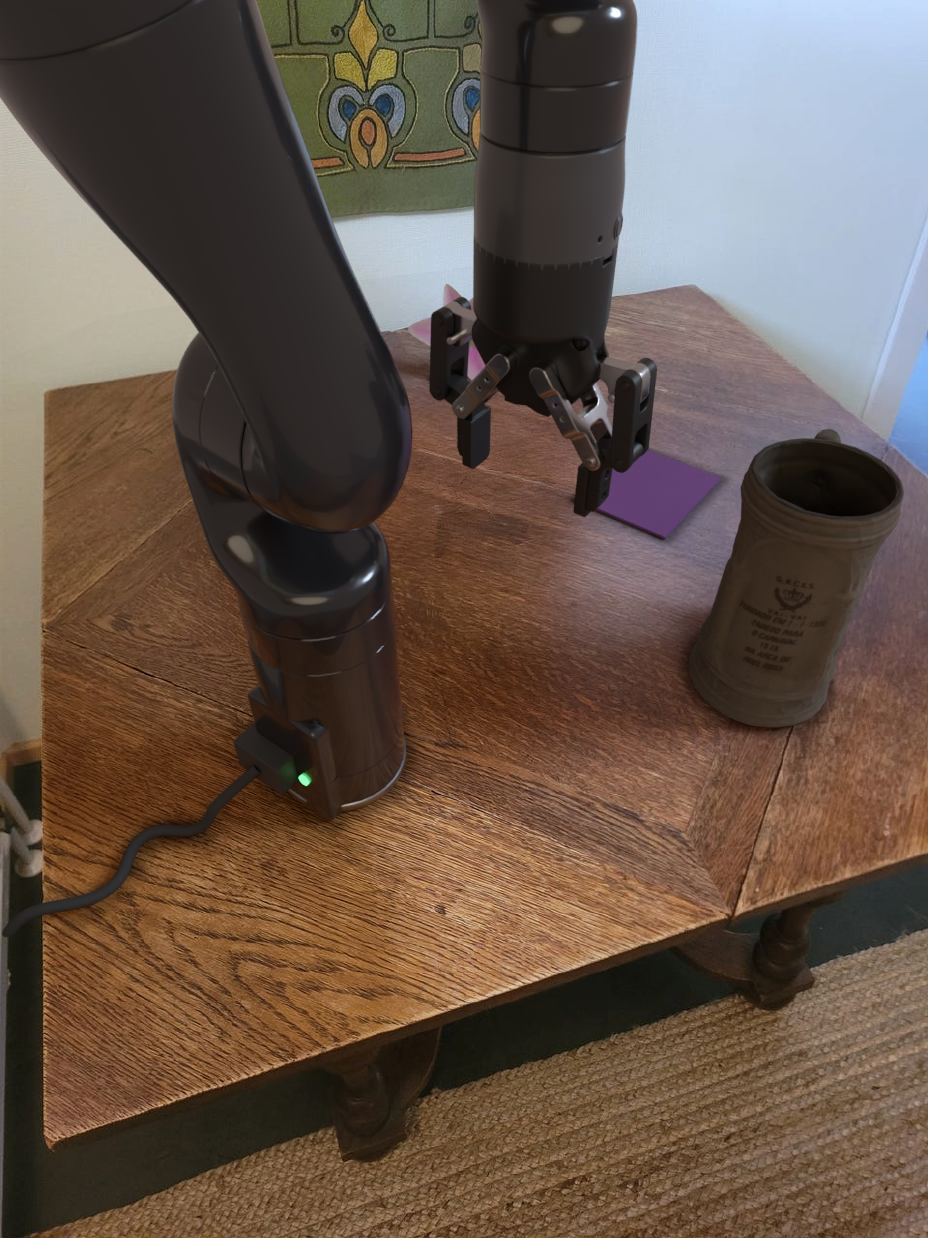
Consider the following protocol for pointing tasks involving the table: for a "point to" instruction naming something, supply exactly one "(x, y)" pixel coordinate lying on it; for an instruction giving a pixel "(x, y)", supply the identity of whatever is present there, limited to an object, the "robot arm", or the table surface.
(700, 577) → the table surface
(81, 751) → the table surface
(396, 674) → the robot arm
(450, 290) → the lily
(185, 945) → the table surface
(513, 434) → the table surface
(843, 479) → the beer stein
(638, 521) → the cloth
